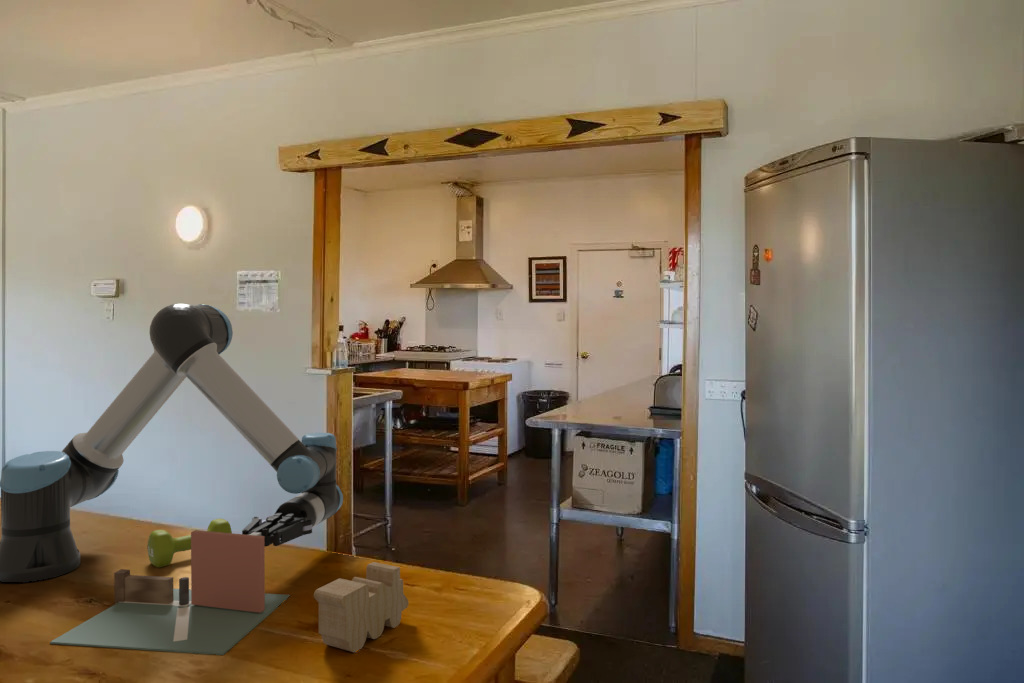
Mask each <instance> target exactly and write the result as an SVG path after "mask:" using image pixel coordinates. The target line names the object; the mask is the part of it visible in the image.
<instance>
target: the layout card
mask: <svg viewBox="0 0 1024 683" xmlns="http://www.w3.org/2000/svg"><path fill="white" fill-rule="evenodd" d="M173 596H174V601H173V602H171V603H170V604H157V603H140V602H118V603H114V604H113V605H112V606H109V607H107V609H104V610H103V611H101V612H98V614H96V615H94V616H93V617H91V618H89V619H88V620H85V621H83V622H81V623H80V624H77V626H75V627H73V628H71V629H70V630H69V631H66V632H64V633H63V634H62V635H60V636H58V637H56V638H55V639H52V640H51V641H50V643H49V644H50V645H63V646H78V647H79V646H80V647H92V648H93V647H96V648H111V649H121V650H122V649H123V650H124V649H125V650H127V649H128V650H137V651H138V650H140V651H141V650H142V651H153V652H155V651H157V652H168V653H169V652H170V653H184V654H197V653H198V654H199V655H212V654H216V656H224V655H225V654H227V652H229V651H230V650H231V649H232V648H233V647H234V646H235V645H236V644H238V643H239V642H240V641H241V640H242V639H243V638H244V637H246V636H247V635H248V634H249V633H250V632H251V631H252V630H253V629H255V628H256V627H257V626H258V625H259V624H260V623H262V621H264V620H265V619H266V618H268V617H269V616H270V615H271V614H272V613H273V612H274V611H275V610H276V609H278V608H279V607H280V606H281V605H282V604H283V603H284V602H285V601H287V600H288V599H289V598H290V597H291V595H290V594H281V593H280V594H279V593H277V594H276V593H265V610H264V611H262V612H261V613H259V612H251V611H242V610H234V609H226V608H217V607H209V606H201V605H192V604H191V588H189V604H186V605H179V588H174V587H173ZM289 596H290V597H289ZM288 597H289V598H288ZM287 598H288V599H287ZM284 600H285V601H284ZM283 601H284V602H283ZM282 602H283V603H282ZM281 603H282V604H281ZM280 604H281V605H280ZM279 605H280V606H279ZM278 606H279V607H278ZM198 654H197V655H198Z"/></svg>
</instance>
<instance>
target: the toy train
mask: <svg viewBox="0 0 1024 683" xmlns="http://www.w3.org/2000/svg"><path fill="white" fill-rule="evenodd" d="M365 570H366V573H365V575H366V576H365V578H363V577H358V576H354V577H352V578H351V580H349V579H346V578H345V579H344V578H337V579H335V580H333V581H331V582H329V583H327V584H325V585H323V586H321V587H319V588H317V589H315V591H313V592H314V593H313V597H314V599H315V601H316V602H318V634H319V635H321V639H322V643H323V644H325V645H327V646H330V647H332V648H337V649H341V650H344V651H346V652H352V653H357V652H356V651H357V650H359V649H361V650H362V648H363V647H364V646H365V642H366V641H367V638H368V639H372V640H376V639H378V638H379V637H380V636H381V635H382V634H383V631H384V628H385V626H386V627H389V628H392V629H393V628H395V627H396V626H397V627H398V626H399V625H400V623H401V620H402V614H403V613H402V612H403V611H404V610H406V609H407V608H408V607H409V600H408V598H407V597H406V595H405V594H404V579H402V578H401V568H400V566H395V565H391V564H386V563H380V562H377V561H372V562H370V563H368V564H367V565H366V569H365ZM397 627H396V628H397ZM396 628H395V629H396ZM359 651H360V650H359Z"/></svg>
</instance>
